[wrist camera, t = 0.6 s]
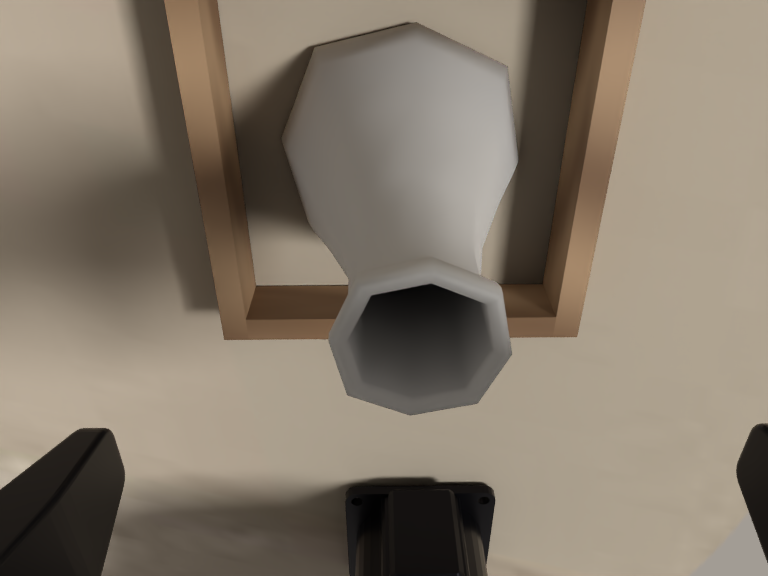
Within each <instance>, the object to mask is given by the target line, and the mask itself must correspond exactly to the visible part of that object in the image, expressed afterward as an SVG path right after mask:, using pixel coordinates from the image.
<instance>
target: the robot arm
mask: <svg viewBox="0 0 768 576" xmlns="http://www.w3.org/2000/svg"><path fill="white" fill-rule="evenodd" d="M736 473H737V479H738V483H739V486H740V489H741V491H742V494H743V497H744V499H745V502H746V505H747V508H748V510H749V513H750V516H751V518H752V521H753V524H754V527H755V530H756V532H757V535H758V538H759V540H760V543H761V546H762V549H763V552H764V554H765V557H766V560H767V563H768V423H765V424H757V425H756V426H755V427H753V428H752V430H751V432H750V434H749V436H748V439H747V441H746V444H745V446H744V448H743V451H742V453H741V455H740V458H739V460H738V463H737V469H736ZM124 482H125V470H124V466H123V463H122V459H121V456H120V453H119V450H118V447H117V444H116V440H115V437H114V435H113V433H112V432H111V430H109V429H106V428H82V429H79V430H77V431H75V432H74V433H72V434H71V435H70V436H68V437H67V438H66V439H65V440H63V441H62V442H61V443H59V444H58V445H57V446H56V447H54V448H53V449H52V450H51V451H49V452H48V453H47V454H45V455H44V456H43V457H42V458H40V459H39V460H38V461H36V462H35V463H34V464H33V465H31V466H30V467H29V468H27V469H26V470H25V471H24V472H22V473H21V474H20V475H18V476H17V477H16V478H15V479H13V480H12V481H11V482H10V483H8V484H7V485H6V486H4V487H3V488H2V489H1V490H0V576H101V574H102V570H103V566H104V562H105V558H106V554H107V550H108V546H109V542H110V539H111V535H112V531H113V527H114V523H115V519H116V515H117V511H118V507H119V503H120V499H121V495H122V491H123V487H124ZM494 506H495V496H494V491H493V489H492V488H491V487H489V486H378V487H352V488H350V489H349V490H348V491H347V492H346V520H347V537H348V555H349V573H350V576H488V575H487V568H486V563H487V556H488V549H489V542H490V535H491V527H492V520H493V513H494Z"/></svg>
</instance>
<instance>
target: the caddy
mask: <svg viewBox="0 0 768 576" xmlns="http://www.w3.org/2000/svg"><path fill="white" fill-rule="evenodd" d="M164 3H165V9H166V15H167V20H168V26H169V31H170V37H171V43H172V48H173V54H174V60H175V65H176V71H177V76H178V82H179V88H180V93H181V99H182V104H183V110H184V116H185V121H186V127H187V133H188V138H189V144H190V149H191V155H192V161H193V166H194V172H195V177H196V183H197V189H198V194H199V200H200V206H201V211H202V217H203V222H204V228H205V234H206V239H207V245H208V251H209V256H210V262H211V267H212V273H213V279H214V284H215V290H216V295H217V301H218V307H219V312H220V318H221V324H222V329H223V335H224V340H263V339H329V332H330V330H331V328H332V326H333V324H334V322H335V320H336V318H337V316H338V314H339V312H340V310H341V308H342V306H343V304H344V302H345V300H346V298H347V295H348V286H256V283H255V276H254V268H253V261H252V254H251V246H250V239H249V232H248V224H247V217H246V209H245V202H244V195H243V187H242V180H241V173H240V165H239V158H238V151H237V143H236V136H235V128H234V121H233V114H232V106H231V99H230V92H229V84H228V77H227V70H226V62H225V55H224V47H223V40H222V33H221V25H220V18H219V11H218V3H217V0H164ZM645 3H646V0H588V1H587V7H586V13H585V19H584V26H583V32H582V38H581V45H580V51H579V57H578V64H577V70H576V76H575V83H574V89H573V95H572V102H571V108H570V114H569V120H568V127H567V133H566V139H565V146H564V152H563V158H562V165H561V171H560V177H559V184H558V190H557V196H556V203H555V209H554V215H553V222H552V228H551V234H550V240H549V247H548V253H547V259H546V266H545V272H544V278H543V284H499V285H500V286H501V288H502V292H503V298H504V304H505V311H506V318H507V324H508V331H509V337H510V338H513V337H577V335H578V330H579V325H580V320H581V315H582V310H583V305H584V300H585V296H586V291H587V286H588V281H589V276H590V271H591V266H592V261H593V257H594V252H595V247H596V242H597V237H598V232H599V227H600V222H601V217H602V213H603V208H604V203H605V198H606V193H607V188H608V183H609V178H610V174H611V169H612V164H613V159H614V154H615V149H616V144H617V139H618V134H619V130H620V125H621V120H622V115H623V110H624V105H625V100H626V95H627V91H628V86H629V81H630V76H631V71H632V66H633V61H634V56H635V51H636V47H637V42H638V37H639V32H640V27H641V22H642V17H643V12H644V8H645Z"/></svg>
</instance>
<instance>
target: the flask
mask: <svg viewBox="0 0 768 576" xmlns="http://www.w3.org/2000/svg"><path fill="white" fill-rule="evenodd" d="M281 140H282V143H283V147H284V150H285V153H286V156H287V159H288V162H289V165H290V168H291V171H292V174H293V177H294V180H295V183H296V186H297V189H298V192H299V195H300V198H301V201H302V204H303V208H304V211H305V214H306V217H307V220H308V223H309V224H310V226H311V227H312V229H313V230H314V232H315V233H316V234H317V235H318V236H319V238H320V239H321V240H322V241H323V242H324V244H325V245H326V246H327V247H328V248H329V250H330V251H331V252H332V254H333V255H334V257H335V259H336V260H337V262H338V263H339V265H340V266H341V268H342V269H343V271H344V272H345V274H346V275H347V277H348V279H349V284H348V295H347V298H346V300H345V302H344V304H343V306H342V308H341V310H340V312H339V314H338V316H337V318H336V320H335V322H334V324H333V326H332V328H331V330H330V332H329V344H330V347H331V350H332V353H333V356H334V358H335V361H336V364H337V367H338V370H339V373H340V376H341V378H342V381H343V384H344V387H345V390H346V393H347V395H348V396H351V397H354V398H357V399H360V400H364V401H367V402H370V403H373V404H376V405H379V406H382V407H385V408H388V409H392V410H395V411H398V412H401V413H404V414H407V415H416V414H421V413H427V412H433V411H438V410H444V409H450V408H455V407H461V406H467V405H473V404H477V403H478V402H479V401H480V399H481V398H482V396H483V395H484V393H485V392H486V391H487V389H488V388H489V386H490V385H491V383H492V382H493V381H494V379H495V378H496V376H497V375H498V374H499V372H500V371H501V369H502V368H503V366H504V365H505V364H506V362H507V361H508V359H509V358H510V356H511V355H512V351H511V344H510V337H509V331H508V324H507V318H506V311H505V304H504V298H503V292H502V288H501V286H500V285H499V284H498V283H497V282H496V281H493V280H491V279H488V278H485V277H483V276H481V265H482V248H483V245H484V242H485V240H486V237H487V234H488V232H489V229H490V226H491V224H492V221H493V218H494V216H495V213H496V210H497V208H498V205H499V202H500V200H501V198H502V196H503V194H504V192H505V190H506V188H507V186H508V184H509V182H510V180H511V177H512V175H513V173H514V171H515V169H516V166H517V163H518V161H519V158H518V150H517V141H516V133H515V125H514V116H513V108H512V99H511V91H510V82H509V74H508V66H506V65H504V64H502V63H500V62H498V61H496V60H494V59H492V58H490V57H487V56H485V55H483V54H481V53H479V52H477V51H475V50H473V49H471V48H469V47H467V46H465V45H462V44H460V43H458V42H456V41H454V40H452V39H450V38H448V37H446V36H444V35H442V34H440V33H437V32H435V31H433V30H431V29H429V28H427V27H425V26H423V25H421V24H419V23H417V22H415V23H411V24H407V25H403V26H399V27H395V28H391V29H387V30H383V31H378V32H374V33H370V34H366V35H362V36H358V37H354V38H350V39H346V40H342V41H338V42H334V43H330V44H326V45H322V46H318V47H315V48H314V51H313V53H312V56H311V59H310V61H309V64H308V67H307V70H306V72H305V75H304V78H303V81H302V83H301V86H300V89H299V91H298V94H297V97H296V100H295V102H294V105H293V108H292V111H291V113H290V116H289V119H288V121H287V124H286V127H285V130H284V132H283V135H282V138H281Z"/></svg>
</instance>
